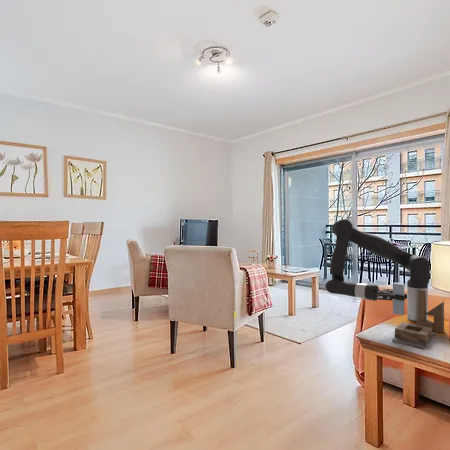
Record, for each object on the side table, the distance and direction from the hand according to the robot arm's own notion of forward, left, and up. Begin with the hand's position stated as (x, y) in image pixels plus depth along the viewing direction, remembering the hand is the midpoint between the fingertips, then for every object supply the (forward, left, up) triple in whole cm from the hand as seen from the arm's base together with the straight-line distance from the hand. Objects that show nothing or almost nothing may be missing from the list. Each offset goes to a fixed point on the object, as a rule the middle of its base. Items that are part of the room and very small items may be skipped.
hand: (405, 297), depth 144 cm
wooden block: (-17, +6, -18) cm, 26 cm away
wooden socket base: (0, +3, -18) cm, 18 cm away
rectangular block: (0, -3, -8) cm, 9 cm away
